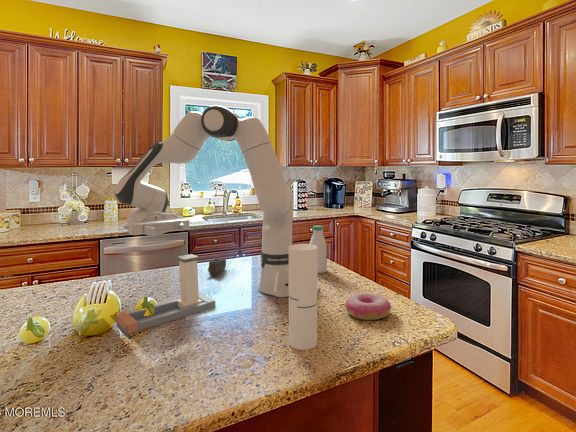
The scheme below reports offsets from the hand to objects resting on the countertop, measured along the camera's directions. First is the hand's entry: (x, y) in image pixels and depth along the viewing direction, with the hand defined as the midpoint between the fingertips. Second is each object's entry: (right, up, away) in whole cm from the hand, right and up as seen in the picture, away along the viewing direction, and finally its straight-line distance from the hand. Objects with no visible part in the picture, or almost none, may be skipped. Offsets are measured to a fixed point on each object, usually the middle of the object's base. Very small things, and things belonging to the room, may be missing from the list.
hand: (169, 229), depth 111 cm
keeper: (+8, -24, -6) cm, 26 cm away
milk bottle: (+52, -20, +38) cm, 67 cm away
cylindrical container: (+43, -28, -25) cm, 57 cm away
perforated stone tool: (+9, -21, +35) cm, 42 cm away
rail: (+3, -26, -10) cm, 28 cm away
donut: (+64, -26, -7) cm, 69 cm away
